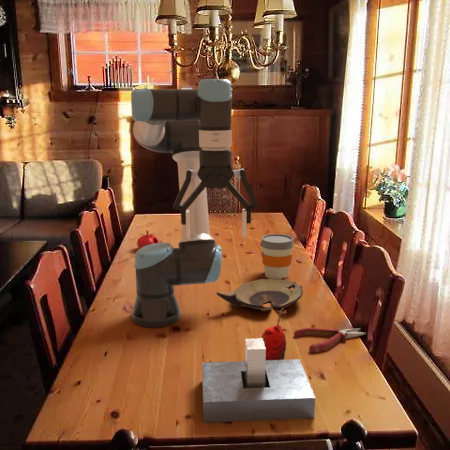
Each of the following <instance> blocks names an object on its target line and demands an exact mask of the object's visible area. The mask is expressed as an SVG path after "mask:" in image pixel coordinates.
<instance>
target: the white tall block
mask: <svg viewBox="0 0 450 450" xmlns="http://www.w3.org/2000/svg"><path fill="white" fill-rule="evenodd" d="M244 341H245V343H244V348H245V352H244V361H245V388H265V365H266V348H265V344H264V341H263V338H261V337H257V338H256V337H255V338H252V337H251V338H245V339H244Z"/></svg>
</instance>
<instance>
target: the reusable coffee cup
mask: <svg viewBox="0 0 450 450" xmlns="http://www.w3.org/2000/svg"><path fill="white" fill-rule="evenodd" d="M260 246H261V249H262V250H261V260H262V265H263V268H264V269H263V270H264V275H265V277H266V278H267V279H280V280H283V279H282V278H284V279H286V277H287V276H288V277H289V274H290V272H289V271H290V266H291V265H292V260H293V254H294V253H293V248H294V246H295V245H294V237H292V236H291V235H288V234H283V233H282V234H281V233H270V234H265V235H263V236H262V237H261V240H260ZM288 277H287V278H288Z"/></svg>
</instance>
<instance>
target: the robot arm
mask: <svg viewBox="0 0 450 450" xmlns="http://www.w3.org/2000/svg"><path fill="white" fill-rule="evenodd" d="M197 85H198V88H170V89H169V88H147V87H145V88H140V89H133V90H132V91H131V93H130V99H131V100H130V102H131V103H130V104H131V118H132V120H133V121H134V123H133V127H132V135H133V138H134V140H135V141H136V142H137V144H139V145H140V146H141V147H143V148H145V149H147V150H149V151H152V152H156V153H166V154H167V153H169V154H170V153H171V155H172V157H171V158H172V159H173V160H174V162H176V163H177V170H178V171H177V173H178V175H177V176H178V187H179V191H178V194H177V196H176V199H175V200H174V202H173V206H172V208H173V210H176V211H179V212H180V222H181V228H182V237H181V239H179V241H178V247H176V248H175V247H173V245H172V244H171V243H169V242H159V243H155V244H150V245H147V246H144V247H142V248H140V249H139V248H138V250H137V251H136V252H135V255H134V265H133V266H134V269H135V285H136V287H135V289H136V295H135V296H136V298H135V300H134V304H133V307H132V310H131V311H132V312H131V320H132V322H133V323H134V324H135V325H137V326H139V327H144V328H151V329H152V328H154V329H155V328H163V327H168V326H171V325H173V324H175V323H177V322H178V321H179V320H180V318H181V308H180V305H179V302H178V300H177V297H176V295H175V287H176V286H188V285H199V284H200V285H201V284H202V285H205V284H209V283H216V282H217V281H218V279H219V278H220V276H221V270H222V262H223V260H222V259H223V257H222V256H223V255H222V247H221V245H219V244H216V239H215V238H214V237H213V236H212V234H211V231H210V221H209V220H210V219H209V206H208V195H207V189H209V190H213V189H214V190H215V189H219V190H223V189H224V188H227V189H228V190H229V191H230V193H231V194H232V195H233V196H234V197H235V198H236V200H237V201H239V203H240V205H242V206H243V208H242V209H241V210H242V211H241V215H242V217H241V220H242V221H241V226H242V229H241V235H242V239H247V224H251V222H252V210H254V209H258V208H259V206H260V205H259V203H258V200H257V198H256V197H255V194H254V193H253V190H252V188H251V187H250V185H249V183H248V181H247V176H246V171H245V169H244V168H239V169H234V170H233V167H232V165H233V164H232V157H233V155H232V152H233V151H232V150H231V149H230V148H232V142H233V141H232V140H233V139H232V115H233V114H232V109H233V108H232V105H233V104H232V102H233V101H232V99H233V93H232V83H231V81H230V80H229V79H227V78H225V79H224V78H222V79H221V78H205V79H204V78H203V79H200V80H199V81H198V84H197ZM234 176H236V178H237V179H238V180H240V181H241V183H242V186H243V188H244V190H245V192H246V193H247V196H248V198H249V201H251V202H250V203H249V202H248V201H247V199H246V198H244V196H243V195H242V194H241V193H240V192H239V191H238V190H237V188H236V187H235V186H234V185H233V183H232V182H231V180H232V179H233V177H234Z"/></svg>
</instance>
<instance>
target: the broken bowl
mask: <svg viewBox="0 0 450 450" xmlns="http://www.w3.org/2000/svg"><path fill="white" fill-rule="evenodd" d="M303 293H304V290H303V285H299V284H298V282H294V281H290V280H284V279H271V278H263V279H262V278H261V279H256V280H251V281H249V282H245V283H244V284H241V285H240V286H238V287H237V288H236V289H235V290H230V291H229V292H220V291H217V292H216V295H217V296H218V297H219V298H220V299H223V300H224V301H226V302H227V303H229V304H231V305H232V306H234V307H236V308H241V307H247V308H250V309H253V310H254V309H255V310H261V311H262V310H263V311H265V310H266V311H267V310H268V311H269V310H273V308H274V309H283V308H287V307H289V306H291V305H294V304H295V303H297V302H298V301H299V300H300V299H301V298H302V297H303ZM268 303H271V304H270V305H271V306H264V304H268Z"/></svg>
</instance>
